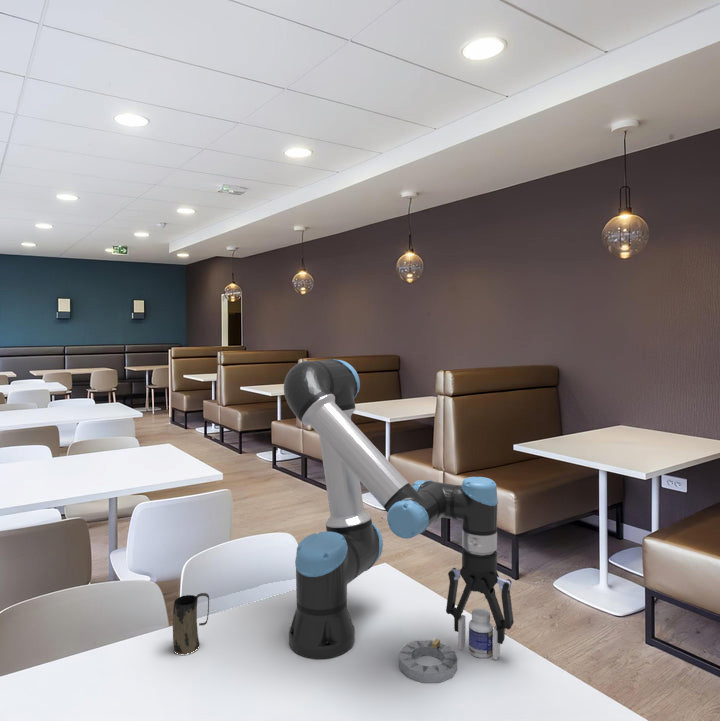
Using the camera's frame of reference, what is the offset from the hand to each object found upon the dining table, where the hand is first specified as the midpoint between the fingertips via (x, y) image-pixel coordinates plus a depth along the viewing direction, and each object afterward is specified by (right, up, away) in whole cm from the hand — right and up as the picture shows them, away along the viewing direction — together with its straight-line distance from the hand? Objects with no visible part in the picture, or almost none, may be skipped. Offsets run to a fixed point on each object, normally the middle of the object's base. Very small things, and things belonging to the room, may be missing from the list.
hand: (478, 650), depth 121 cm
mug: (-64, -1, +2) cm, 64 cm away
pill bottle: (0, 0, 0) cm, 1 cm away
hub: (-12, 0, -5) cm, 13 cm away
